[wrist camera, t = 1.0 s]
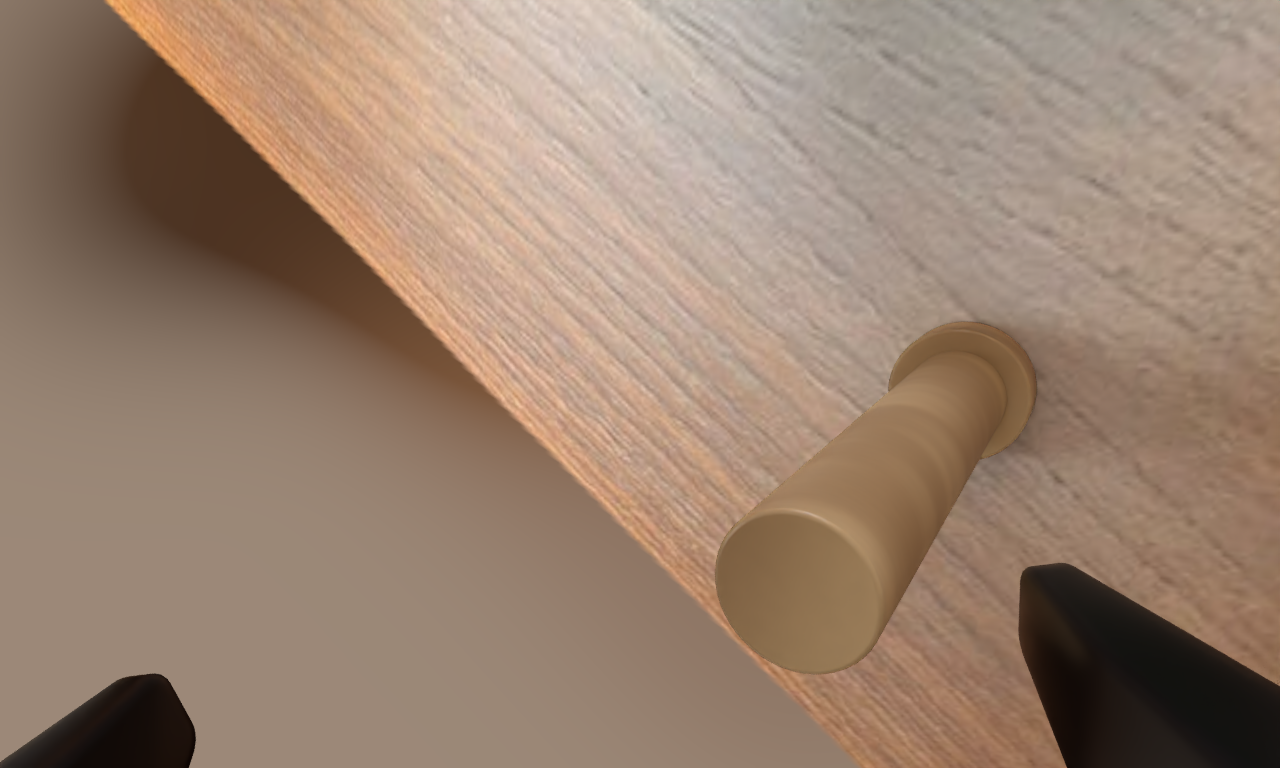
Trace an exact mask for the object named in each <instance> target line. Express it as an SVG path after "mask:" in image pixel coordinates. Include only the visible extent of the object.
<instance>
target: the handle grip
mask: <svg viewBox="0 0 1280 768" xmlns="http://www.w3.org/2000/svg"><path fill="white" fill-rule="evenodd" d="M1036 394H1037V383H1036V376H1035V372H1034V368H1033V366H1032V364H1031V361H1030V359H1029V358H1028V356H1027V354H1026V353H1025V351H1024V350H1023V349H1022V348H1021V346H1020V345H1019V344H1018V343H1017V342H1016V341H1015V340H1014V339H1012V338H1011V337H1010V336H1008V335H1007V334H1005V333H1004V332H1002V331H1000V330H998V329H996V328H994V327H991V326H989V325H985V324H981V323H974V322H956V323H950V324H946V325H942V326H940V327H937V328H935V329H933V330H931V331H929V332H927V333H926V334H924V335H923V336H922V337H920V338H919V339H918V340H916V341H915V342H913V343H912V344H911V345H910V346H909V347H908V348H907V349H906V350H905V351H904V352H903V353H902V354H901V355H900V357H899V358H898V360H897V362H896V363H895V365H894V368H893V370H892V373H891V376H890V380H889V387H888V393H887V394H886V395H884V396H883V397H882V398H881V399H880V400H879V401H878V402H876V403H875V404H874V405H873V406H872V407H871V408H869V409H868V410H867V411H866V412H865V413H864V414H862V415H861V416H860V417H859V418H858V419H857V420H856V421H854V422H853V423H852V424H851V425H850V426H849V427H847V428H846V429H845V430H844V431H843V432H842V433H840V434H839V435H838V436H837V437H836V438H835V439H834V440H832V441H831V442H830V443H829V444H828V445H827V446H825V447H824V448H823V449H822V450H821V451H820V452H818V453H817V454H816V455H815V456H814V457H813V458H811V459H810V460H809V461H808V462H807V463H806V464H805V465H803V466H802V467H801V468H800V469H799V470H798V471H796V472H795V473H794V474H793V475H792V476H791V477H789V478H788V479H787V480H786V481H785V482H784V483H783V484H781V485H780V486H779V487H778V488H777V489H776V490H774V491H773V492H772V493H771V494H770V495H769V496H767V497H766V498H765V499H764V500H763V501H762V502H761V503H759V504H758V505H757V506H756V507H755V508H754V509H752V510H751V511H750V512H749V513H748V514H747V515H745V516H744V517H743V518H742V519H741V520H740V521H739V522H737V523H736V524H735V525H734V526H733V527H732V528H731V530H730V531H729V532H728V533H727V535H726V536H725V538H724V540H723V542H722V543H721V546H720V549H719V551H718V555H717V560H716V569H715V582H716V589H717V595H718V598H719V601H720V605H721V607H722V609H723V612H724V614H725V616H726V618H727V619H728V621H729V623H730V625H731V626H732V627H733V629H734V630H735V632H736V633H737V634H738V635H739V637H740V638H741V639H742V640H743V641H744V642H745V643H746V644H747V645H748V646H749V647H750V648H751V649H752V650H754V651H755V652H756V653H757V654H759V655H760V656H761V657H763V658H765V659H766V660H768V661H770V662H771V663H773V664H775V665H778V666H780V667H782V668H785V669H788V670H790V671H794V672H799V673H804V674H828V673H834V672H837V671H841V670H844V669H847V668H849V667H851V666H853V665H855V664H856V663H858V662H859V661H860V660H862V659H863V658H864V657H865V656H866V655H867V654H868V653H869V652H870V651H871V650H872V648H873V647H874V645H875V644H876V643H877V641H878V639H879V637H880V635H881V634H882V632H883V630H884V628H885V627H886V625H887V623H888V621H889V619H890V618H891V616H892V614H893V612H894V611H895V609H896V607H897V605H898V603H899V602H900V600H901V598H902V596H903V595H904V593H905V591H906V589H907V587H908V586H909V584H910V582H911V580H912V579H913V577H914V575H915V573H916V571H917V570H918V568H919V566H920V564H921V562H922V561H923V559H924V557H925V555H926V554H927V552H928V550H929V548H930V546H931V545H932V543H933V541H934V539H935V538H936V536H937V534H938V532H939V530H940V529H941V527H942V525H943V523H944V522H945V520H946V518H947V516H948V514H949V513H950V511H951V509H952V507H953V506H954V504H955V502H956V500H957V498H958V497H959V495H960V493H961V491H962V490H963V488H964V486H965V484H966V482H967V481H968V479H969V477H970V475H971V473H972V472H973V470H974V468H975V466H976V465H977V463H978V461H979V460H980V459H984V458H987V457H990V456H992V455H995V454H997V453H999V452H1000V451H1002V450H1004V449H1005V448H1007V447H1008V446H1009V445H1010V444H1012V443H1013V442H1014V441H1015V439H1016V438H1017V437H1018V436H1019V435H1020V433H1021V432H1022V431H1023V429H1024V427H1025V425H1026V423H1027V421H1028V419H1029V417H1030V415H1031V412H1032V410H1033V407H1034V404H1035V400H1036Z"/></svg>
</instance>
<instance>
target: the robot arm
mask: <svg viewBox="0 0 1280 768" xmlns="http://www.w3.org/2000/svg"><path fill="white" fill-rule="evenodd" d="M1019 640H1020V645H1021V649H1022V653H1023V656H1024V658H1025V661H1026V664H1027V666H1028V669H1029V671H1030V674H1031V676H1032V679H1033V682H1034V684H1035V687H1036V689H1037V692H1038V694H1039V697H1040V700H1041V702H1042V705H1043V707H1044V710H1045V712H1046V715H1047V718H1048V720H1049V723H1050V725H1051V728H1052V730H1053V733H1054V736H1055V738H1056V741H1057V743H1058V746H1059V748H1060V751H1061V753H1062V756H1063V759H1064V761H1065V764H1066V766H1067V768H1280V686H1278V685H1277V684H1275V683H1273V682H1271V681H1270V680H1268V679H1266V678H1264V677H1263V676H1261V675H1259V674H1258V673H1256V672H1254V671H1252V670H1251V669H1249V668H1247V667H1246V666H1244V665H1242V664H1240V663H1239V662H1237V661H1235V660H1234V659H1232V658H1230V657H1228V656H1227V655H1225V654H1223V653H1222V652H1220V651H1218V650H1216V649H1215V648H1213V647H1211V646H1210V645H1208V644H1206V643H1204V642H1203V641H1201V640H1199V639H1198V638H1196V637H1194V636H1192V635H1191V634H1189V633H1187V632H1186V631H1184V630H1182V629H1180V628H1179V627H1177V626H1175V625H1174V624H1172V623H1170V622H1168V621H1167V620H1165V619H1163V618H1162V617H1160V616H1158V615H1156V614H1155V613H1153V612H1151V611H1150V610H1148V609H1146V608H1144V607H1143V606H1141V605H1139V604H1138V603H1136V602H1134V601H1132V600H1131V599H1129V598H1127V597H1126V596H1124V595H1122V594H1120V593H1119V592H1117V591H1115V590H1114V589H1112V588H1110V587H1108V586H1107V585H1105V584H1103V583H1102V582H1100V581H1098V580H1096V579H1095V578H1093V577H1091V576H1090V575H1088V574H1086V573H1084V572H1083V571H1081V570H1079V569H1078V568H1076V567H1074V566H1072V565H1070V564H1066V563H1055V564H1047V565H1039V566H1031V567H1028V568H1026V569H1025V570H1024V571H1023V573H1022V575H1021V580H1020V602H1019ZM195 741H196V737H195V729H194V726H193V724H192V721H191V720H190V718H189V716H188V714H187V712H186V711H185V709H184V707H183V705H182V703H181V701H180V700H179V698H178V696H177V694H176V692H175V691H174V689H173V687H172V685H171V683H170V682H169V681H168V679H167V678H165V677H164V676H162V675H160V674H146V675H137V676H129V677H125V678H122V679H119V680H117V681H116V682H114V683H112V684H111V685H110V686H108V687H107V688H105V689H104V690H102V691H101V692H100V693H98V694H97V695H95V696H94V697H93V698H91V699H90V700H88V701H87V702H85V703H84V704H82V705H81V706H80V707H78V708H77V709H75V710H74V711H72V712H71V713H70V714H68V715H67V716H65V717H64V718H62V719H61V720H60V721H58V722H57V723H55V724H54V725H52V726H51V727H50V728H48V729H47V730H45V731H44V732H42V733H41V734H40V735H38V736H37V737H35V738H34V739H32V740H31V741H30V742H28V743H27V744H25V745H24V746H22V747H21V748H20V749H18V750H17V751H16V752H14V753H12V754H11V755H9V756H8V757H7V758H5V759H4V760H2V761H1V762H0V768H189V765H190V762H191V759H192V756H193V753H194V749H195Z"/></svg>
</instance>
